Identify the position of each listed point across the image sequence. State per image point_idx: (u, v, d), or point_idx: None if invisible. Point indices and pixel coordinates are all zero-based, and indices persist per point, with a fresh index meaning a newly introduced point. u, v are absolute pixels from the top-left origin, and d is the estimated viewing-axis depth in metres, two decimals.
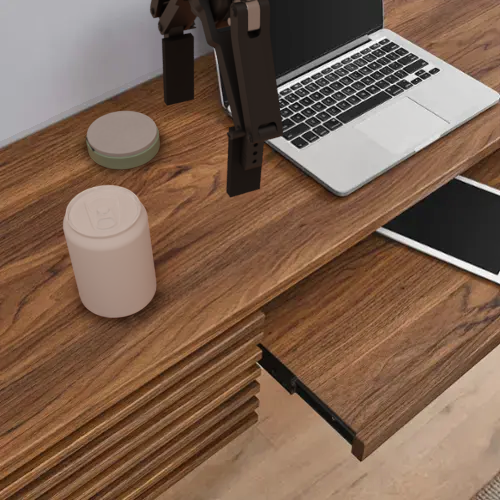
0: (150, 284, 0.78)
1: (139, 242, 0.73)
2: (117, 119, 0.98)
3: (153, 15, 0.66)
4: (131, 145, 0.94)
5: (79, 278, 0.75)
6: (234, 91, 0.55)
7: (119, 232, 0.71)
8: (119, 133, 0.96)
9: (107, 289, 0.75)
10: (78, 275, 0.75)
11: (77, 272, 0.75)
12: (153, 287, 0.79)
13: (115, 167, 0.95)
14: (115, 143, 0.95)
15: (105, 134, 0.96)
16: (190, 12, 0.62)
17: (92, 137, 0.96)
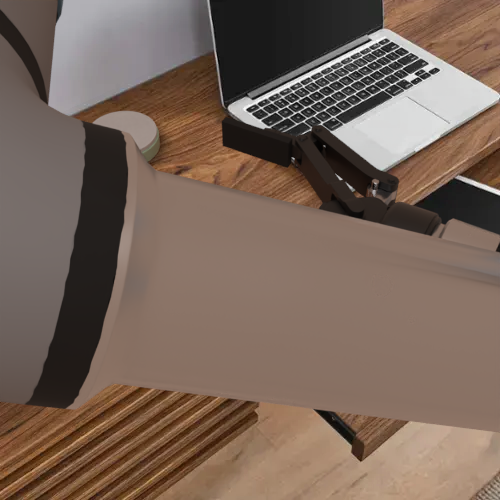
0: None
1: None
2: (117, 119, 0.98)
3: (314, 129, 0.66)
4: None
5: None
6: None
7: None
8: None
9: None
10: None
11: None
12: None
13: None
14: None
15: None
16: (315, 183, 0.63)
17: None
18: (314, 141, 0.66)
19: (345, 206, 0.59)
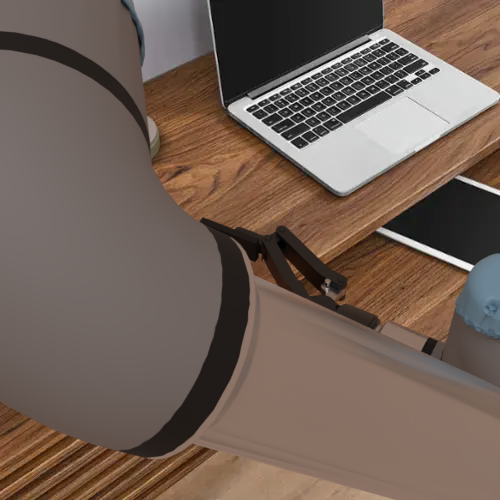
0: None
1: None
2: None
3: (278, 229, 0.77)
4: None
5: None
6: None
7: None
8: None
9: None
10: None
11: None
12: None
13: None
14: None
15: None
16: (277, 279, 0.74)
17: None
18: (278, 240, 0.76)
19: None
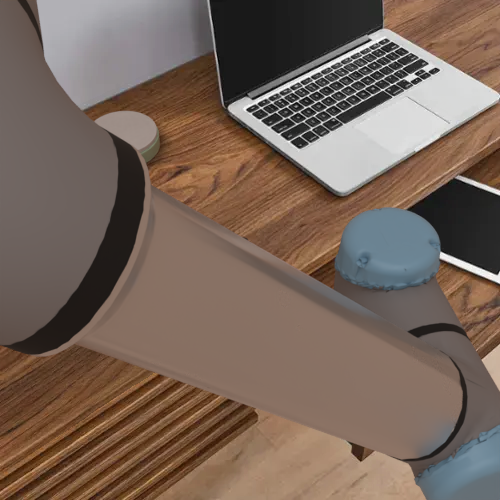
0: None
1: None
2: (117, 119, 0.98)
3: None
4: None
5: None
6: None
7: None
8: (119, 133, 0.96)
9: None
10: None
11: None
12: None
13: None
14: None
15: None
16: None
17: None
18: None
19: None
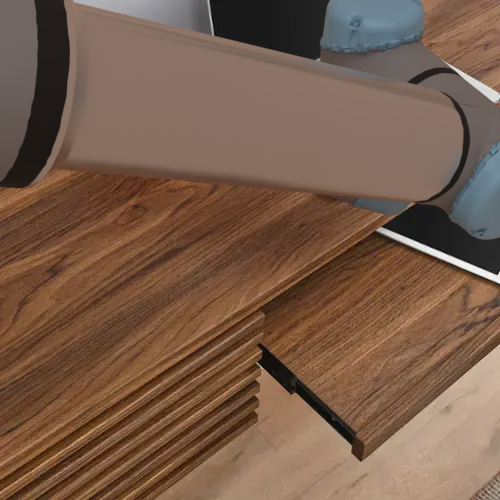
0: None
1: None
2: None
3: None
4: None
5: None
6: None
7: None
8: None
9: None
10: None
11: None
12: None
13: None
14: None
15: None
16: None
17: None
18: None
19: None
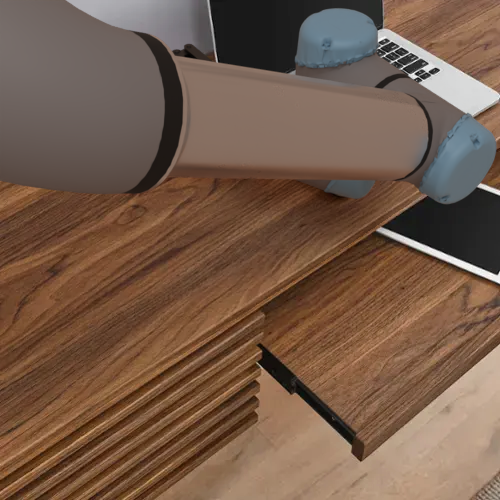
0: None
1: None
2: None
3: (185, 46, 0.95)
4: None
5: None
6: None
7: None
8: None
9: None
10: None
11: None
12: None
13: None
14: None
15: None
16: None
17: None
18: (185, 54, 0.94)
19: None
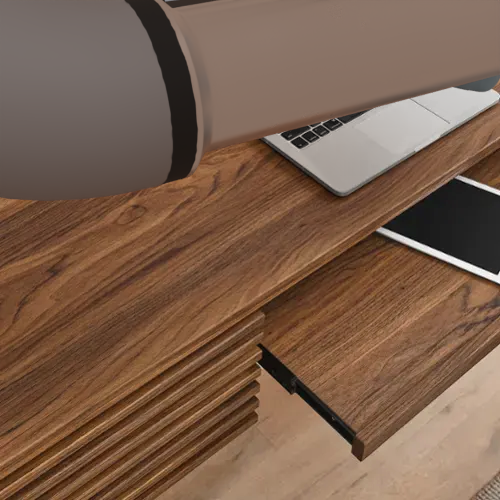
0: None
1: None
2: None
3: None
4: None
5: None
6: None
7: None
8: None
9: None
10: None
11: None
12: None
13: None
14: None
15: None
16: None
17: None
18: None
19: None
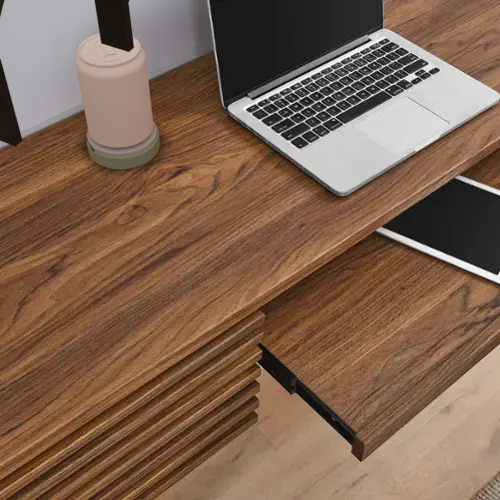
0: (148, 120, 0.93)
1: (138, 75, 0.88)
2: None
3: None
4: None
5: (89, 110, 0.91)
6: None
7: (122, 62, 0.86)
8: None
9: (112, 118, 0.90)
10: (88, 107, 0.90)
11: (87, 104, 0.90)
12: (150, 124, 0.94)
13: (115, 167, 0.95)
14: None
15: None
16: None
17: None
18: None
19: None
